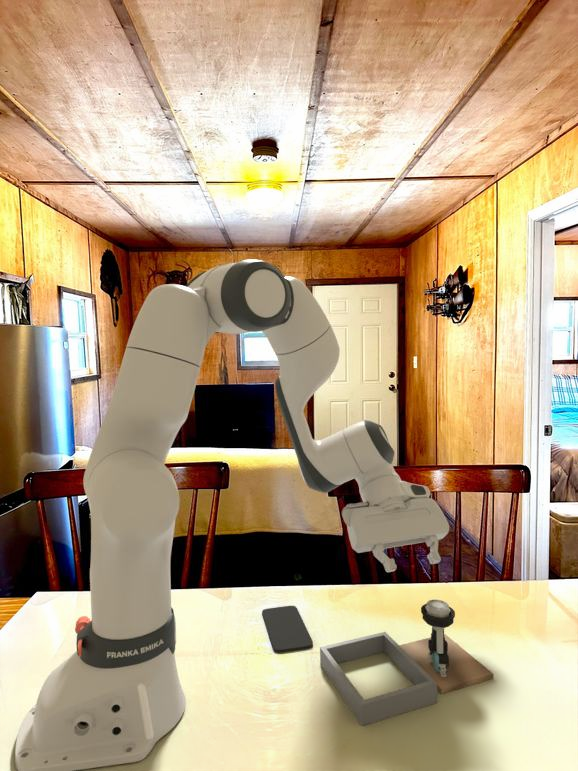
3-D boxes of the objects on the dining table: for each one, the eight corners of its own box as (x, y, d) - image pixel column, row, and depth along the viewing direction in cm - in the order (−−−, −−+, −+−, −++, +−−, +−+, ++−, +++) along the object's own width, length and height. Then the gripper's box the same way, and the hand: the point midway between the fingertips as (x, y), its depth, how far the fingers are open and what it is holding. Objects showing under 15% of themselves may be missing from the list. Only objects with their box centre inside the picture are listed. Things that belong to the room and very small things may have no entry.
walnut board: (441, 694, 72) (441, 689, 72) (397, 650, 84) (397, 645, 84) (493, 678, 76) (493, 673, 76) (444, 638, 87) (444, 633, 87)
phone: (295, 604, 100) (314, 644, 85) (295, 608, 100) (314, 649, 85) (260, 609, 98) (274, 651, 83) (260, 613, 98) (274, 655, 83)
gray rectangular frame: (362, 725, 66) (361, 705, 66) (320, 664, 80) (320, 647, 80) (437, 702, 71) (437, 683, 70) (385, 648, 84) (385, 631, 84)
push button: (461, 680, 74) (460, 618, 74) (426, 679, 75) (425, 617, 74) (450, 654, 81) (450, 597, 80) (418, 653, 81) (418, 596, 81)
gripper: (343, 497, 90) (370, 568, 81) (434, 486, 97) (467, 550, 88) (334, 513, 94) (358, 582, 85) (421, 502, 101) (452, 565, 92)
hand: (414, 566), depth 87 cm, fingers open, 8 cm apart
